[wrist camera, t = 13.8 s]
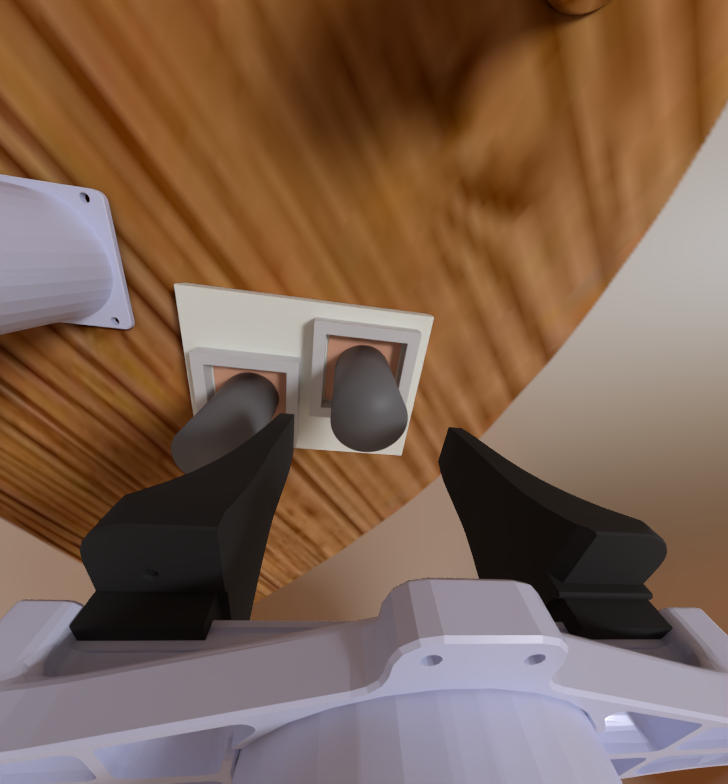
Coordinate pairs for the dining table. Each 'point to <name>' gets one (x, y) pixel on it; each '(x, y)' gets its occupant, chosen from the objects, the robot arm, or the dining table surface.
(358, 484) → the dining table surface
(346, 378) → the peg
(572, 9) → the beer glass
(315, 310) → the board
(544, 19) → the dining table surface
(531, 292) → the dining table surface
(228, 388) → the peg
